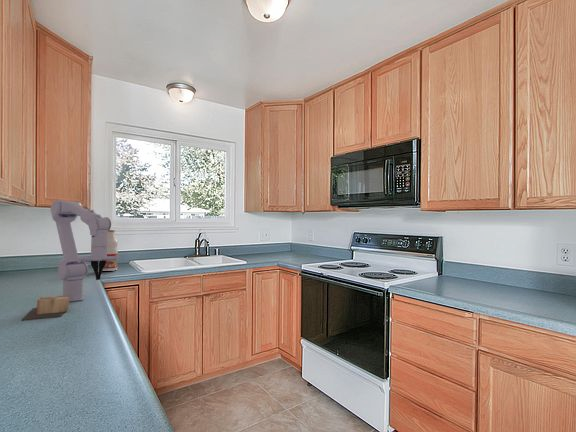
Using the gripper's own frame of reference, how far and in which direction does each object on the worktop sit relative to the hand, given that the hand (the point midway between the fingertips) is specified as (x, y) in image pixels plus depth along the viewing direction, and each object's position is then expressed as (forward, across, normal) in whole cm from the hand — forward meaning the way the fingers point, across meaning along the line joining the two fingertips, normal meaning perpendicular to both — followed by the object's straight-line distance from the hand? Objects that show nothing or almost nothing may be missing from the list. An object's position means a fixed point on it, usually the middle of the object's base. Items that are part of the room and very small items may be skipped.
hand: (98, 279), depth 129 cm
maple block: (+8, -9, -5) cm, 13 cm away
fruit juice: (+11, +2, +94) cm, 95 cm away
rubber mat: (+10, -16, -5) cm, 20 cm away
